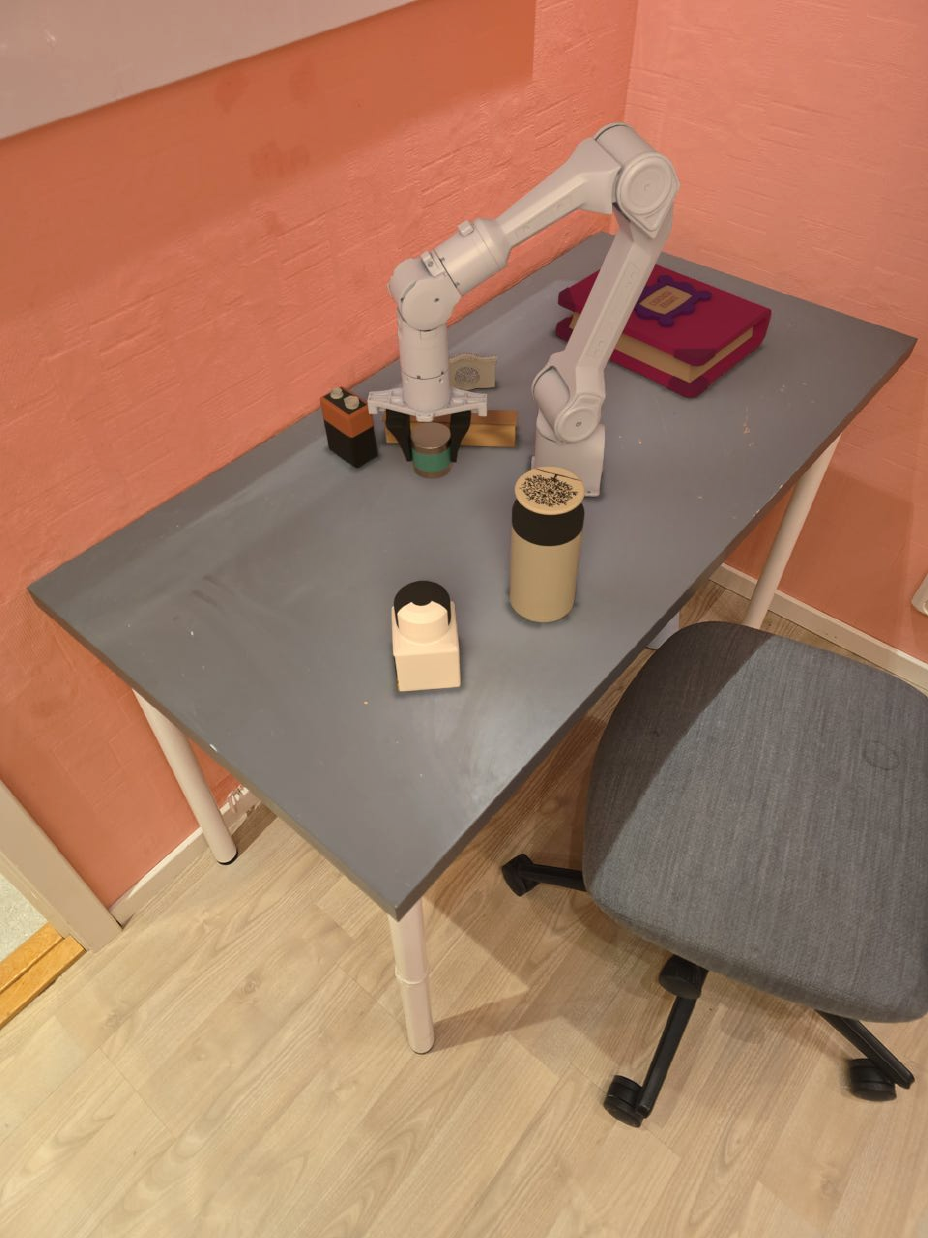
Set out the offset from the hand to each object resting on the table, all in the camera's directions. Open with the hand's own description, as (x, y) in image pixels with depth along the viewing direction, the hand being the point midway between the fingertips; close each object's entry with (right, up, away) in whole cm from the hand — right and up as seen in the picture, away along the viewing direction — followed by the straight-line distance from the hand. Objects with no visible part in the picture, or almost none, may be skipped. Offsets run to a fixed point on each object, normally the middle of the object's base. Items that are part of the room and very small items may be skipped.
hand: (431, 457), depth 109 cm
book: (+36, +26, +31) cm, 55 cm away
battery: (-12, +3, +14) cm, 19 cm away
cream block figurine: (0, -27, -11) cm, 29 cm away
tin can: (0, -1, +1) cm, 1 cm away
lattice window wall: (+3, +16, +24) cm, 29 cm away
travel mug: (+14, -19, -5) cm, 24 cm away
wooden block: (+2, +6, +16) cm, 17 cm away
